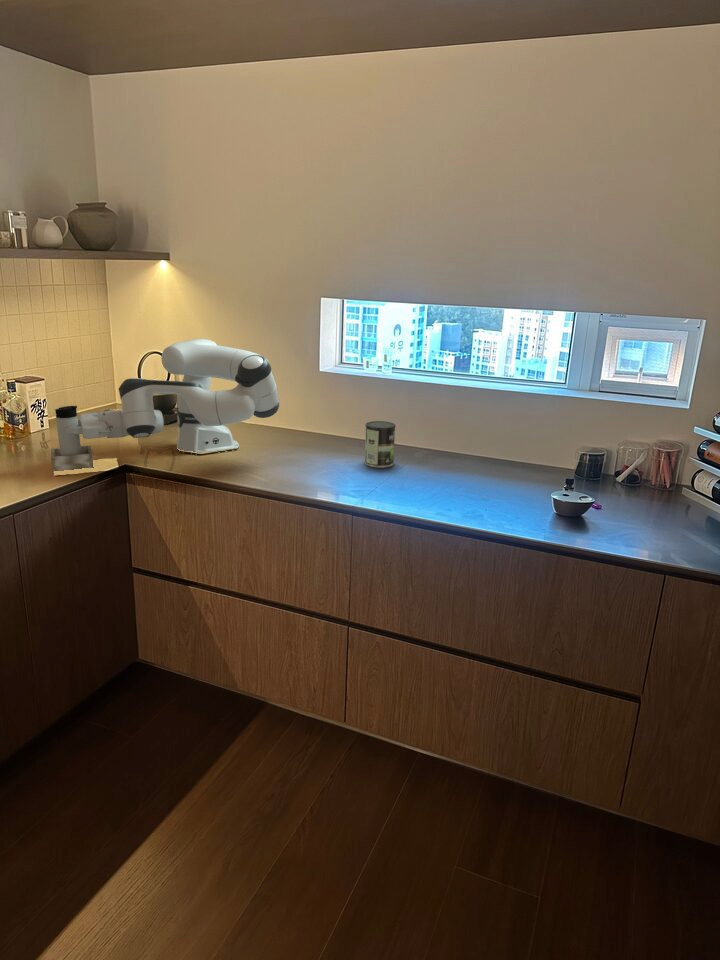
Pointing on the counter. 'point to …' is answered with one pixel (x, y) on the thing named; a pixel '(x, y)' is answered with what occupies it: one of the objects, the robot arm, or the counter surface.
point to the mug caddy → (72, 460)
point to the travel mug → (67, 441)
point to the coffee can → (379, 444)
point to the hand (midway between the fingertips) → (65, 427)
